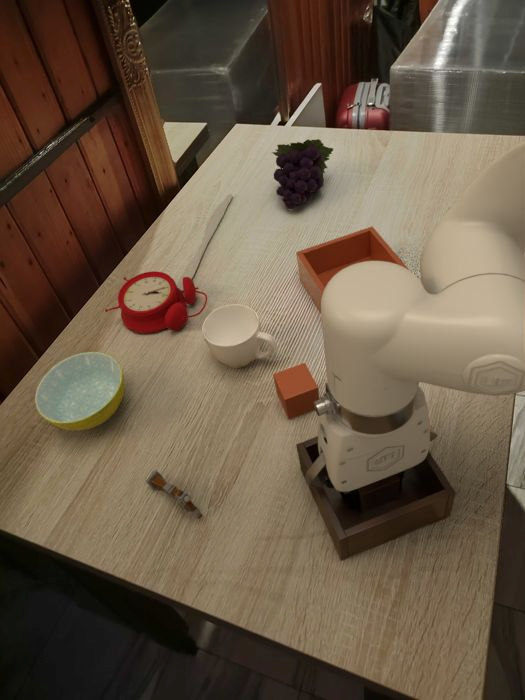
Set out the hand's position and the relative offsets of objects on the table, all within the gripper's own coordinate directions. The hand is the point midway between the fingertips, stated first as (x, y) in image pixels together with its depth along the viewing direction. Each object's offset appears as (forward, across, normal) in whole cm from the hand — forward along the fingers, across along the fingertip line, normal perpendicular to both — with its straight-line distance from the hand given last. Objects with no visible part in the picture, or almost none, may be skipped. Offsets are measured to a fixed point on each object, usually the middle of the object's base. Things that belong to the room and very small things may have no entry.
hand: (370, 487), depth 60 cm
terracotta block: (+1, -3, +15) cm, 15 cm away
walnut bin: (+1, 0, 0) cm, 1 cm away
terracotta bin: (+1, +12, +31) cm, 33 cm away
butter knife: (+1, -5, +54) cm, 55 cm away
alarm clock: (+1, -16, +40) cm, 43 cm away
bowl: (+1, -29, +25) cm, 38 cm away
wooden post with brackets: (+1, -21, +8) cm, 22 cm away
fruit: (+1, +15, +59) cm, 61 cm away
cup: (+1, -7, +25) cm, 26 cm away
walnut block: (0, 0, 0) cm, 0 cm away
